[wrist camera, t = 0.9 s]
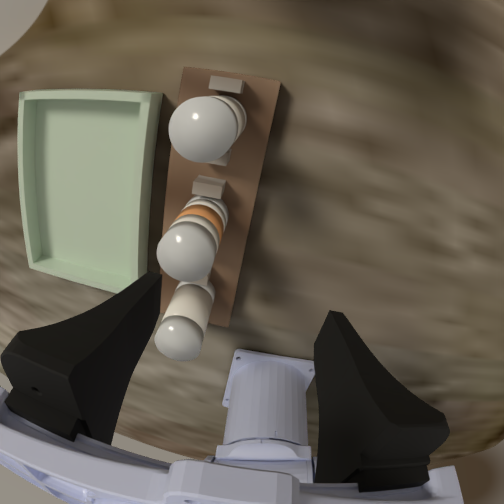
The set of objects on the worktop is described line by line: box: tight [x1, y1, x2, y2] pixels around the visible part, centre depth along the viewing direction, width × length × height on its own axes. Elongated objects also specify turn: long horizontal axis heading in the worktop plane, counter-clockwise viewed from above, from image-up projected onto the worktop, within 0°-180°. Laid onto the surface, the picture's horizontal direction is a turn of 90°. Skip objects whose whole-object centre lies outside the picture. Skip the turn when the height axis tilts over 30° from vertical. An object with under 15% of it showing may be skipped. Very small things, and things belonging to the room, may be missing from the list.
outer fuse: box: [169, 95, 247, 163], centre depth 16 cm, size 3×3×6 cm
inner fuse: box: [155, 281, 215, 361], centre depth 22 cm, size 3×3×6 cm
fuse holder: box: [160, 67, 281, 327], centre depth 21 cm, size 19×6×2 cm, turn 169°
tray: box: [18, 89, 163, 294], centre depth 21 cm, size 15×11×2 cm
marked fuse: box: [157, 195, 229, 282], centre depth 19 cm, size 3×3×6 cm
